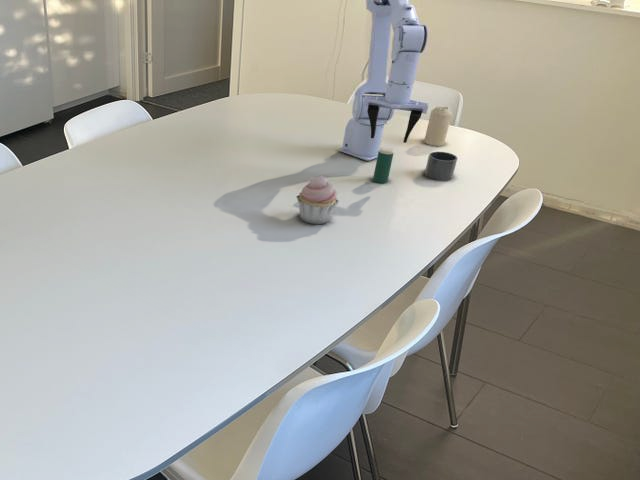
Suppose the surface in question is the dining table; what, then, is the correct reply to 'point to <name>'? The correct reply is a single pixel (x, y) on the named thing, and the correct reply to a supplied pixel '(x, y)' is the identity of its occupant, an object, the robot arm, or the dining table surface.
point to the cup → (440, 165)
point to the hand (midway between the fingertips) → (388, 139)
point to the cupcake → (317, 201)
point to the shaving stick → (383, 165)
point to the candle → (438, 126)
